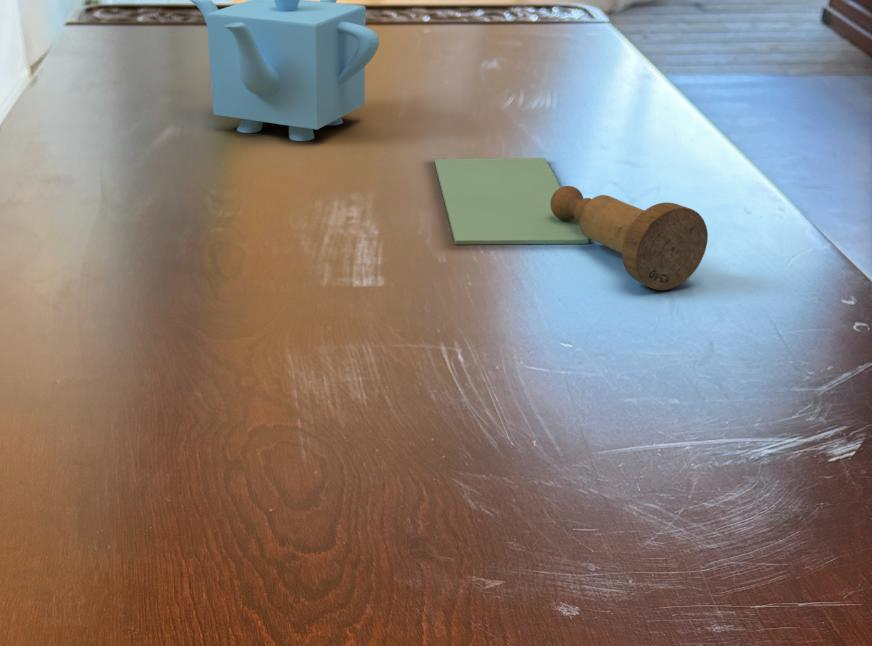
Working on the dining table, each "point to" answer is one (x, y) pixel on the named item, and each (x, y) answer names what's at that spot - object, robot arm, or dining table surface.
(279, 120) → the teakettle
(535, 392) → the dining table surface
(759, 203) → the dining table surface
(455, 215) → the mat
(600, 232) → the mortar and pestle
